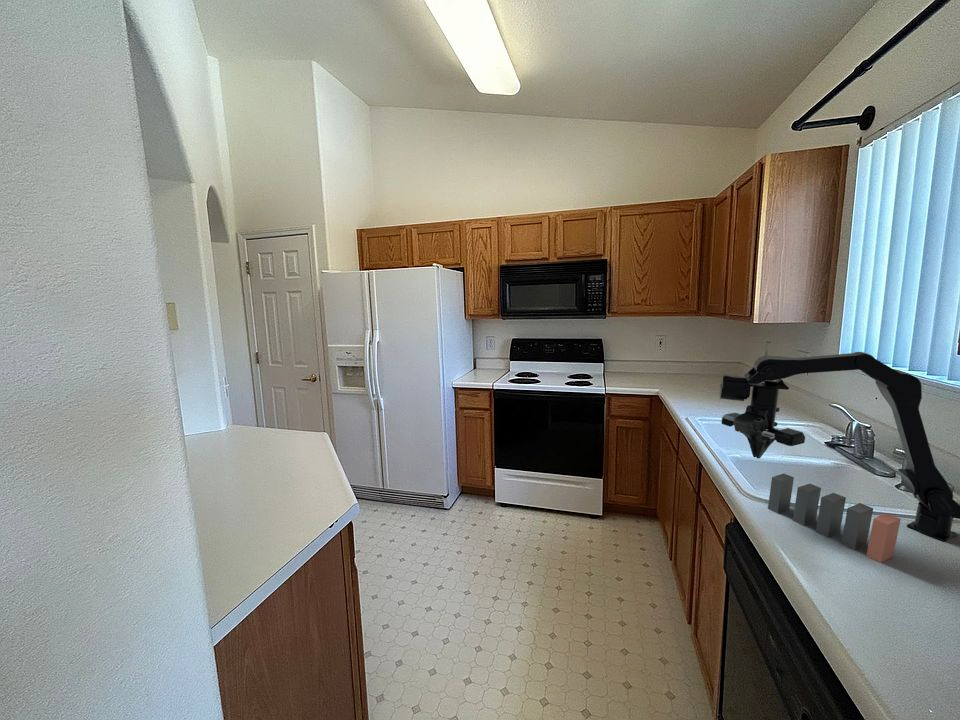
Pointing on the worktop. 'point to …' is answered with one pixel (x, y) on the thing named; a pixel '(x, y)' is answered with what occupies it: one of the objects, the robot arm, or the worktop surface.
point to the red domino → (883, 537)
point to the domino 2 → (806, 504)
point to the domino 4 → (857, 526)
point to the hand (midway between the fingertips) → (756, 457)
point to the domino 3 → (830, 514)
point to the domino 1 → (780, 493)
